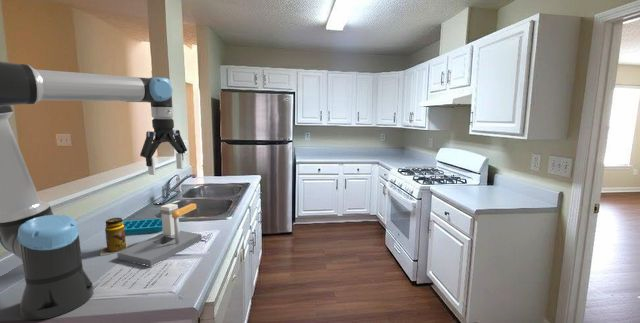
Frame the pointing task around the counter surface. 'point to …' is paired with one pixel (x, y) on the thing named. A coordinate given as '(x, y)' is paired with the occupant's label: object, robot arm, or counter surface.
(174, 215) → the clip
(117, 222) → the condiment
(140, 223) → the ice cube tray
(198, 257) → the counter surface
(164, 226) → the white upright block
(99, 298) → the counter surface
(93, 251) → the counter surface
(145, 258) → the grey flat slab
